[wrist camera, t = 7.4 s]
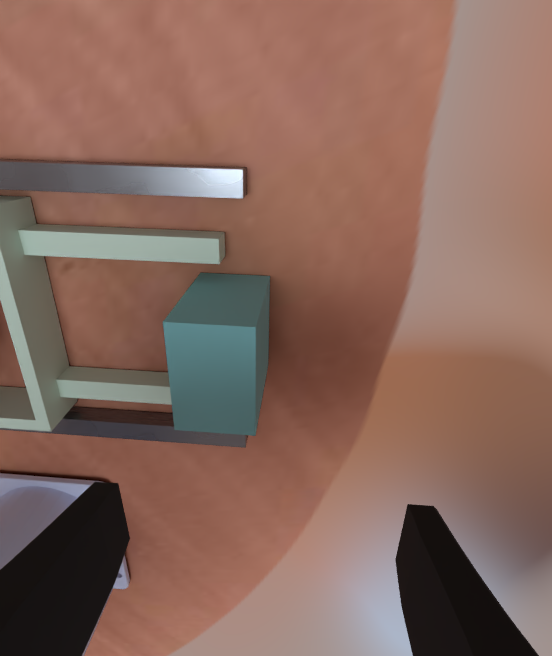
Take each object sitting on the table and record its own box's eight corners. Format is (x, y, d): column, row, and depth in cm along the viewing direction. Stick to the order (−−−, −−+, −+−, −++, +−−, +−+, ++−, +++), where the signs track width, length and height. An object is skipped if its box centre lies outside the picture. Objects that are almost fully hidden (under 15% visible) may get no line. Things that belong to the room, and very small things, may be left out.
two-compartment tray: (267, 413, 21) (255, 493, 16) (-108, 388, 22) (-216, 455, 17) (271, 206, 16) (256, 235, 12) (-202, 187, 17) (-381, 208, 13)
